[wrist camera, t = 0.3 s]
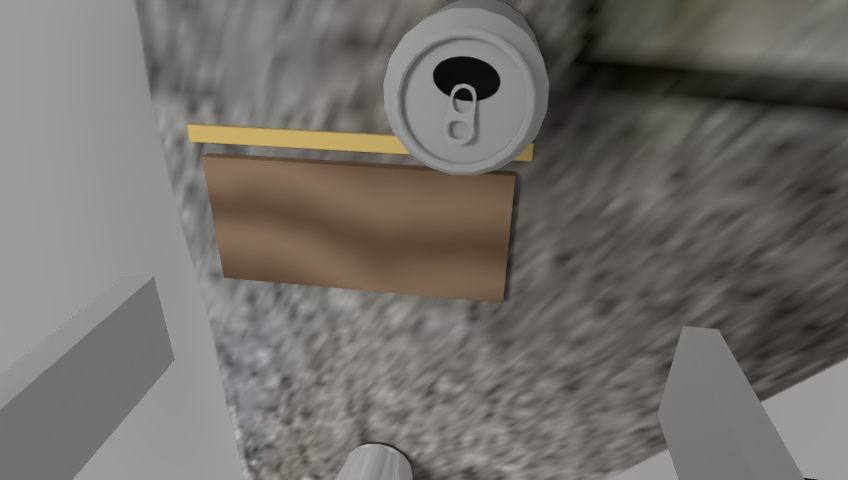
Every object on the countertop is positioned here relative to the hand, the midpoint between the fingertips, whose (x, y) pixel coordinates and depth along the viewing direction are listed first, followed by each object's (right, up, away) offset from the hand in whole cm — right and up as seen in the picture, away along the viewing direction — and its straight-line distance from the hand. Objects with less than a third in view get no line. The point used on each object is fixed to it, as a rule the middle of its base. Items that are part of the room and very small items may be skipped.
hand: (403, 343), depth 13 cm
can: (+4, +14, +20) cm, 25 cm away
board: (-4, +4, +26) cm, 27 cm away
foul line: (-4, +9, +23) cm, 25 cm away
